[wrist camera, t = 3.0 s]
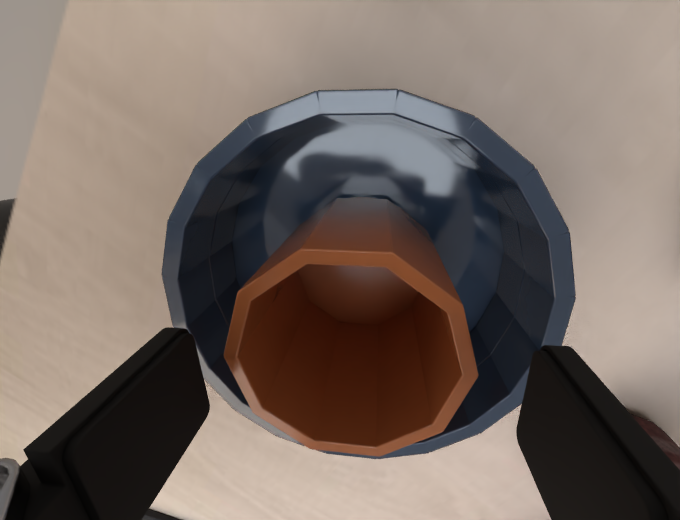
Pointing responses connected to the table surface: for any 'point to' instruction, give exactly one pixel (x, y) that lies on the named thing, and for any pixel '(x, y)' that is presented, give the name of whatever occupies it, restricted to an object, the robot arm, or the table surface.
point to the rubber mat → (156, 516)
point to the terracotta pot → (353, 333)
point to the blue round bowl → (403, 191)
